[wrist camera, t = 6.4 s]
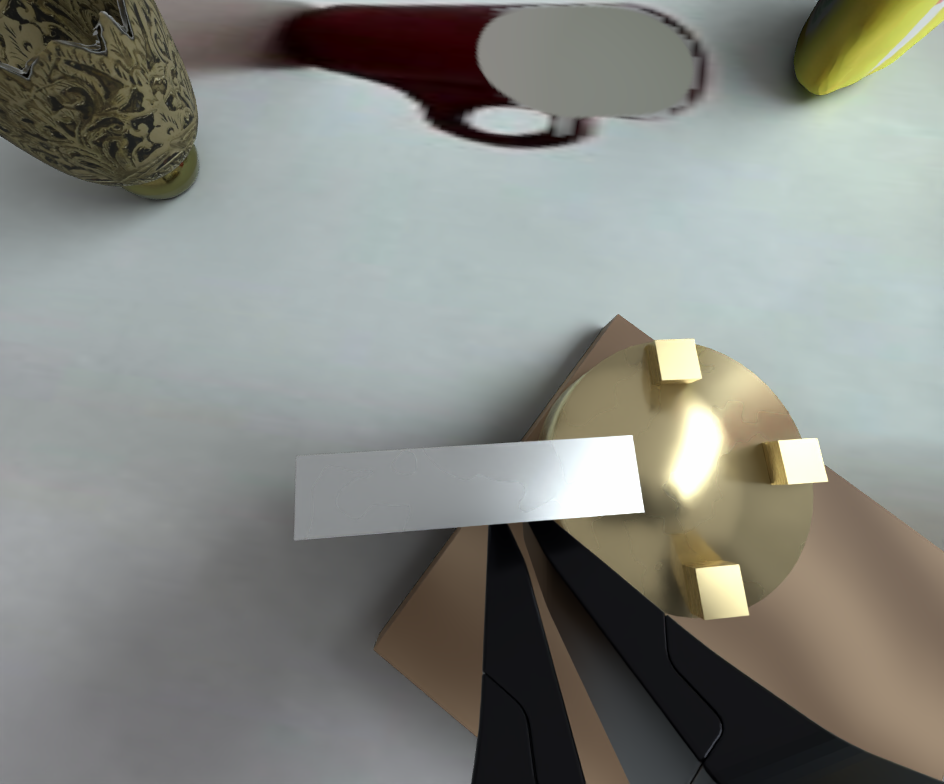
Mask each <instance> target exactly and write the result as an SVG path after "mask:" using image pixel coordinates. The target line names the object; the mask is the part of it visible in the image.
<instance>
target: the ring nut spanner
mask: <svg viewBox="0 0 944 784" xmlns="http://www.w3.org/2000/svg"><path fill="white" fill-rule="evenodd" d="M827 481H828V479H827V475H826V471H825V467H824V463H823V459H822V455H821V451H820V447H819V443H818V440H817V438H810V439H802V438H801V436H800V434H799V431H798V429H797V427H796V425H795V423H794V422H793V420H792V418H791V416H790V415H789V413H788V411H787V410H786V408H785V407H784V406H783V404H782V403H781V401H780V400H779V399H778V397H777V396H776V395H775V394H774V393H773V392H772V391H771V389H770V388H769V387H768V386H767V385H766V384H765V383H764V382H763V381H762V380H761V379H759V378H758V377H757V376H756V375H755V374H754V373H753V372H751V371H750V370H749V369H747V368H746V367H744V366H743V365H742V364H740V363H739V362H737V361H735V360H733V359H731V358H730V357H728V356H726V355H724V354H722V353H719V352H717V351H715V350H712V349H710V348H707V347H703V346H700V345H696V344H695V341H694V339H669V340H654V341H653V342H647V343H643V344H639V345H635V346H631V347H628V348H626V349H623V350H621V351H618V352H616V353H615V354H613V355H611V356H609V357H608V358H606V359H604V360H603V361H601V362H600V363H599V364H597V365H596V366H595V367H593V368H592V369H591V370H589V371H588V372H587V373H585V374H584V375H583V376H581V377H580V378H579V379H577V380H576V381H575V382H574V383H572V384H571V385H570V386H569V387H568V388H567V389H566V390H565V391H564V392H563V393H562V394H561V395H560V396H559V398H558V399H557V400H556V402H555V403H554V404H553V406H552V407H551V409H550V411H549V413H548V415H547V417H546V419H545V421H544V423H543V426H542V429H541V432H540V435H539V439H538V441H530V442H513V443H497V444H480V445H464V446H447V447H431V448H414V449H398V450H381V451H365V452H349V453H332V454H316V455H299V456H296V482H295V520H294V541H295V540H307V539H319V538H332V537H344V536H356V535H369V534H381V533H393V532H406V531H418V530H430V529H443V528H455V527H467V526H480V525H492V524H504V523H517V522H529V521H541V520H554V521H555V522H556V523H557V524H559V525H560V526H561V527H562V528H563V529H565V530H566V531H567V532H568V533H569V534H571V535H572V536H573V537H574V538H575V539H577V540H578V541H579V542H580V543H581V544H583V545H584V546H585V547H586V548H588V549H589V550H590V551H591V552H592V553H594V554H595V555H596V556H597V557H598V558H600V559H601V560H602V561H603V562H604V563H606V564H607V565H608V566H609V567H611V568H612V569H613V570H614V571H615V572H617V573H618V574H619V575H620V576H621V577H623V578H624V579H625V580H626V581H627V582H629V583H630V584H631V585H632V586H633V587H635V588H636V589H637V590H638V591H640V592H641V593H642V594H643V595H644V596H646V597H647V598H648V599H649V600H650V601H652V602H653V603H654V604H655V605H656V606H658V607H659V608H660V609H661V610H663V611H664V613H666V614H670V615H674V616H680V617H688V618H701V619H703V620H711V619H720V618H729V617H738V616H747V615H749V611H748V607H750V606H752V605H754V604H755V603H757V602H759V601H761V600H762V599H764V598H765V597H766V596H767V595H769V594H770V593H771V592H772V591H774V590H775V589H776V588H777V587H778V586H779V585H780V584H781V583H782V582H783V580H784V579H785V578H786V577H787V576H788V574H789V573H790V572H791V570H792V569H793V567H794V566H795V564H796V563H797V561H798V559H799V557H800V555H801V552H802V550H803V548H804V546H805V543H806V540H807V537H808V533H809V530H810V525H811V519H812V514H813V483H814V482H827Z"/></svg>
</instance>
